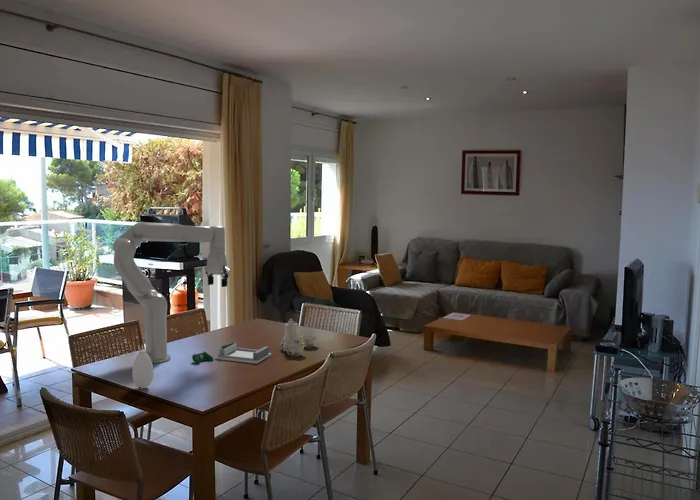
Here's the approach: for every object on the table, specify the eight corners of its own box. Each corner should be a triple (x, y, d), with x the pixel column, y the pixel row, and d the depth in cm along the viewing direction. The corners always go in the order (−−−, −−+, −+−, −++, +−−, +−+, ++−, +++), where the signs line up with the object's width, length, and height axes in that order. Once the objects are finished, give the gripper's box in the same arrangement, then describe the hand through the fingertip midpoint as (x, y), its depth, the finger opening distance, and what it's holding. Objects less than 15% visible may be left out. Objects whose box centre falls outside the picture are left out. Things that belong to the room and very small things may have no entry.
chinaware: (303, 362, 268) (307, 328, 266) (270, 356, 271) (273, 323, 269) (318, 347, 295) (322, 316, 293) (288, 342, 298) (291, 311, 296)
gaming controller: (211, 363, 265) (205, 353, 267) (214, 359, 263) (208, 348, 265) (194, 368, 258) (188, 357, 260) (198, 363, 256) (192, 352, 258)
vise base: (256, 363, 259) (256, 354, 259) (215, 358, 266) (215, 349, 265) (271, 355, 273) (271, 346, 273) (231, 350, 280) (231, 342, 280)
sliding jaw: (224, 356, 266) (224, 347, 266) (219, 355, 267) (219, 346, 266) (236, 349, 277) (236, 341, 277) (232, 349, 278) (232, 340, 278)
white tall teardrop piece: (129, 388, 224) (128, 344, 222) (147, 383, 230) (146, 340, 228) (138, 393, 219) (137, 347, 217) (157, 388, 224) (156, 344, 223)
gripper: (199, 250, 277) (199, 284, 278) (223, 252, 267) (224, 288, 269) (210, 249, 283) (211, 283, 284) (235, 251, 273) (235, 286, 275)
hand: (217, 285), depth 276 cm, fingers open, 9 cm apart
